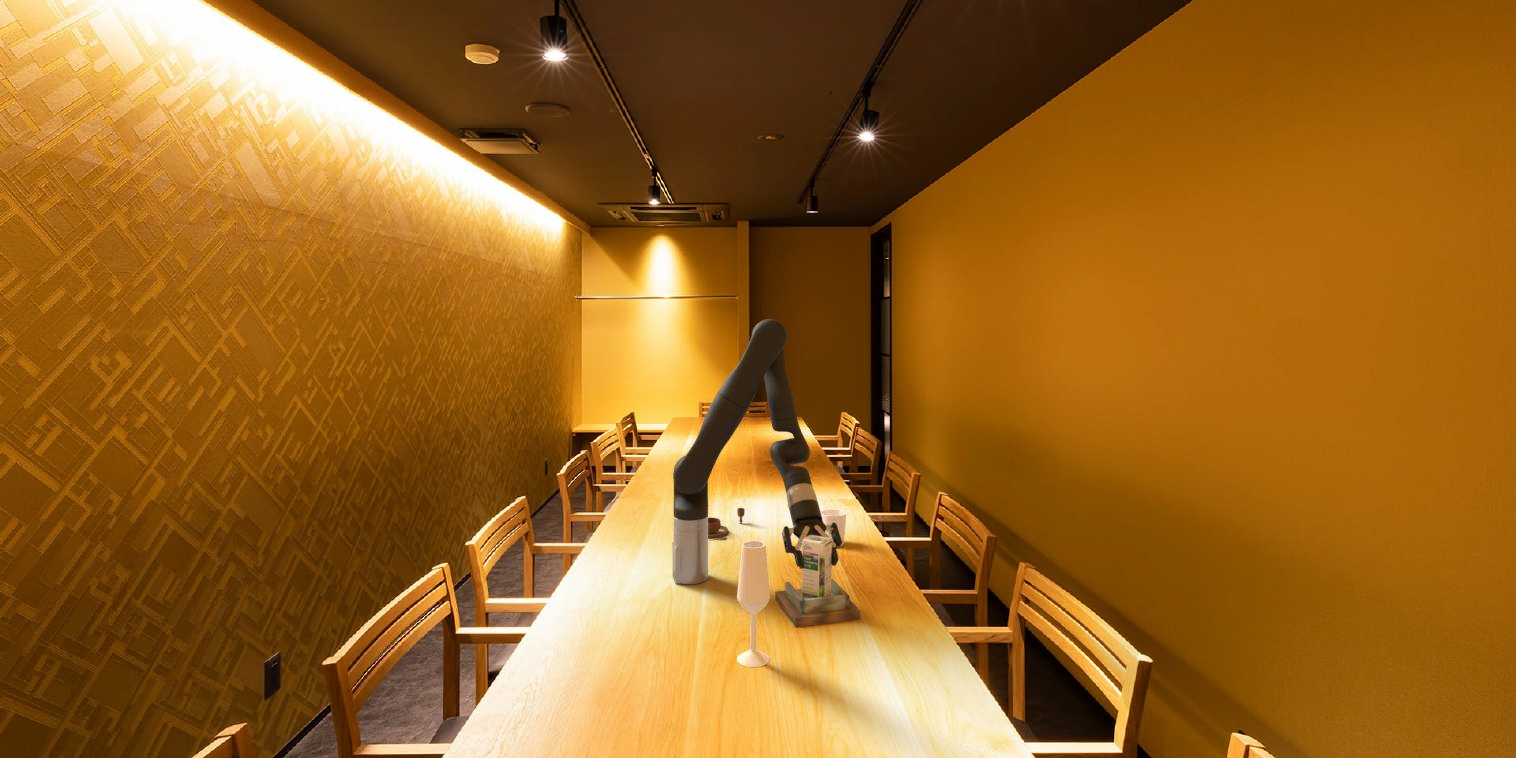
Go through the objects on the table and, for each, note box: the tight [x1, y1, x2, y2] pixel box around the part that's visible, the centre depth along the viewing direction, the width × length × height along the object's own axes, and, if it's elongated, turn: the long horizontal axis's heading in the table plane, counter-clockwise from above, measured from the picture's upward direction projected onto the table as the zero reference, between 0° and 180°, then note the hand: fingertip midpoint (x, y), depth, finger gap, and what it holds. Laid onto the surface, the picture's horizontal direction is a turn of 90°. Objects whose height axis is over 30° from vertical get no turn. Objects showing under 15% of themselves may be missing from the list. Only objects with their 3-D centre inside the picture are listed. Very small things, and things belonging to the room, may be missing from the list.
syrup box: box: [801, 535, 833, 599], centre depth 162 cm, size 6×6×14 cm
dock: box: [774, 577, 862, 628], centre depth 163 cm, size 16×16×5 cm
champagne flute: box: [736, 540, 771, 668], centre depth 137 cm, size 7×7×24 cm
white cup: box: [820, 508, 847, 547], centre depth 212 cm, size 8×8×10 cm
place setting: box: [708, 507, 745, 542], centre depth 224 cm, size 18×20×6 cm
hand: (818, 565), depth 161 cm, fingers closed on syrup box, 8 cm apart
